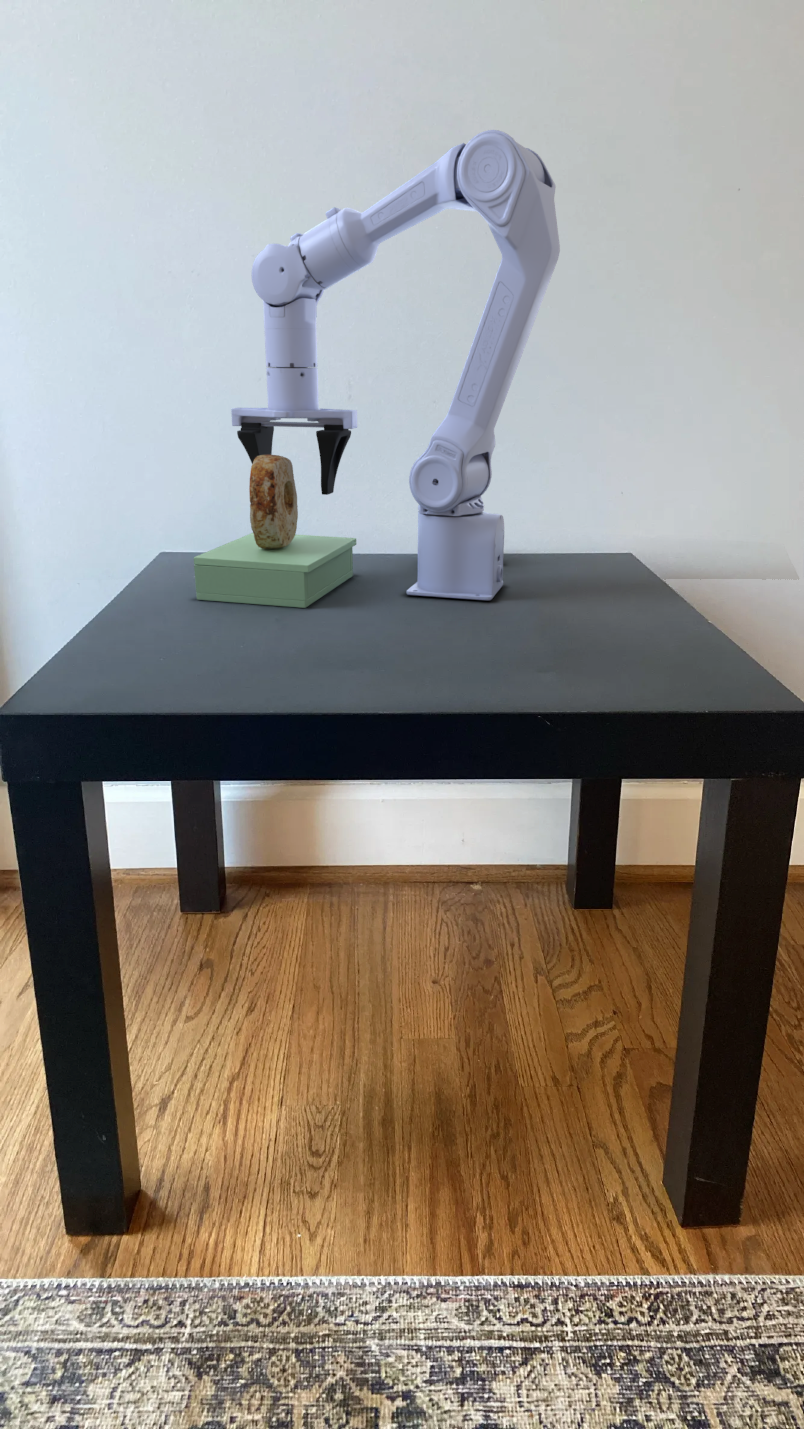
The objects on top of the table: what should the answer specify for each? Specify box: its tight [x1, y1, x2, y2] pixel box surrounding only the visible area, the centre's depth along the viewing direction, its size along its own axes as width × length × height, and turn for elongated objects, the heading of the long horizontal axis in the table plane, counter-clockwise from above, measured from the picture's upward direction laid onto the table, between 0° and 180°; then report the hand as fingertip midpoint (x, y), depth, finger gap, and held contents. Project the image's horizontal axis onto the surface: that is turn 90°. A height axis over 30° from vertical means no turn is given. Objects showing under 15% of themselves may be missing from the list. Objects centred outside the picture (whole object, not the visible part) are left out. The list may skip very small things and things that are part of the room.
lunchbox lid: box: [193, 532, 357, 573], centre depth 106 cm, size 13×16×1 cm
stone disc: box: [248, 454, 299, 549], centre depth 104 cm, size 10×4×10 cm, turn 171°
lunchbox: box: [193, 547, 354, 609], centre depth 106 cm, size 13×16×4 cm
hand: (296, 492), depth 109 cm, fingers open, 7 cm apart
